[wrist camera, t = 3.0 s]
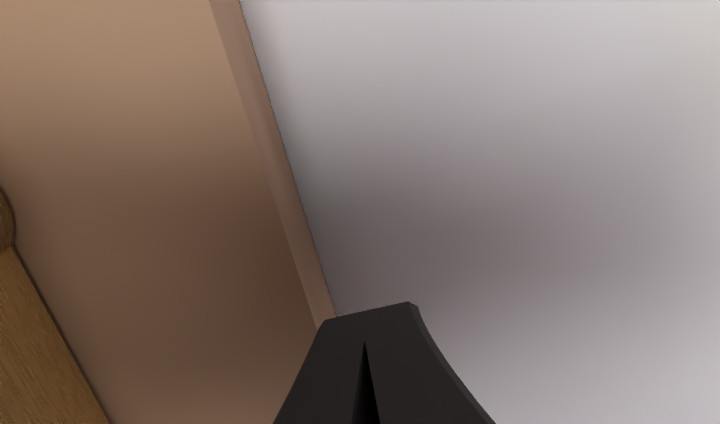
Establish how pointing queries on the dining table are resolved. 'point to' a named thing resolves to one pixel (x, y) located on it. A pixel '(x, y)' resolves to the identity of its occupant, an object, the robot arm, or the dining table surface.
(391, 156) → the dining table surface
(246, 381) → the brown wooden board
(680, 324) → the dining table surface
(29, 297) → the lever
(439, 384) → the robot arm
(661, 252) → the dining table surface
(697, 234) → the dining table surface
